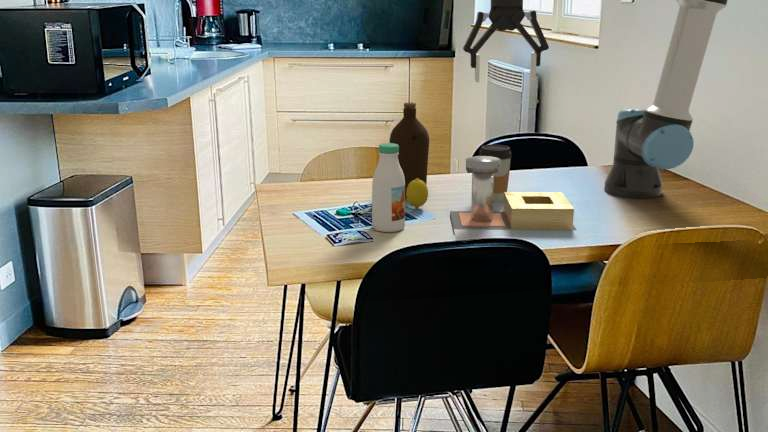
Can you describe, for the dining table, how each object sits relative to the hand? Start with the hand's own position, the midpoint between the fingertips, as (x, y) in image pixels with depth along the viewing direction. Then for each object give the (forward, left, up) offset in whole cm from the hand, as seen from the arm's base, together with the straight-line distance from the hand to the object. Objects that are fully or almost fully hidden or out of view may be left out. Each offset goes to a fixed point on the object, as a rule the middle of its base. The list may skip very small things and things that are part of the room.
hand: (504, 81), depth 183 cm
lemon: (+21, 0, -33) cm, 39 cm away
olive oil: (+23, -13, -33) cm, 42 cm away
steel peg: (+6, +14, -31) cm, 34 cm away
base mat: (-1, +14, -32) cm, 35 cm away
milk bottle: (+28, +16, -33) cm, 46 cm away
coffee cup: (+1, -5, -33) cm, 33 cm away
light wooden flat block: (-7, +14, -31) cm, 35 cm away
